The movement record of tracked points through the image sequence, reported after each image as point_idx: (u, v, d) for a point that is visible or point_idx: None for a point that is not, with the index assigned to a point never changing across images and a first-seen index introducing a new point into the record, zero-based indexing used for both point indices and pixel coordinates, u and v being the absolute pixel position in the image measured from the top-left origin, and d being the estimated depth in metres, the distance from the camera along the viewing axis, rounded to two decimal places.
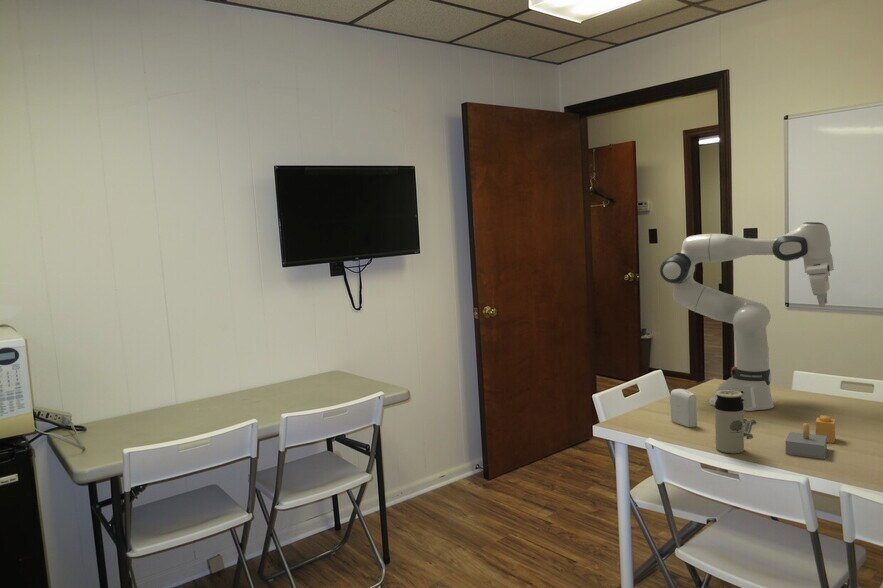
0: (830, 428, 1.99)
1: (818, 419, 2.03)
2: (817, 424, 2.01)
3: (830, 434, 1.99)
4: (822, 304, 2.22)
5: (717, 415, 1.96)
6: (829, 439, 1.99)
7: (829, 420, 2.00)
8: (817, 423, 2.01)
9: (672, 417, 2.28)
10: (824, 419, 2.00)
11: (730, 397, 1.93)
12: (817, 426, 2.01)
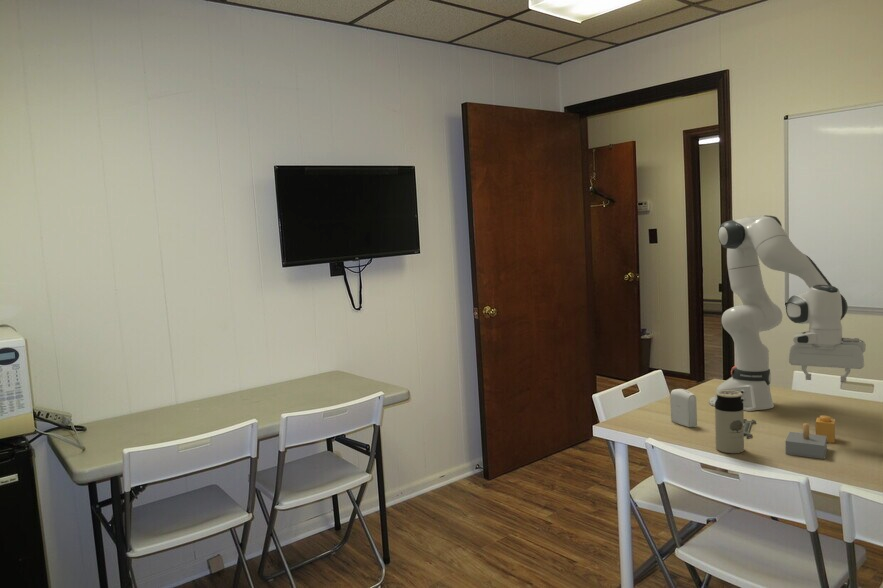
0: (830, 428, 1.99)
1: (818, 419, 2.03)
2: (817, 424, 2.01)
3: (830, 434, 1.99)
4: None
5: (717, 415, 1.96)
6: (829, 439, 1.99)
7: (829, 420, 2.00)
8: (817, 423, 2.01)
9: (672, 417, 2.28)
10: (824, 419, 2.00)
11: (730, 397, 1.93)
12: (817, 426, 2.01)
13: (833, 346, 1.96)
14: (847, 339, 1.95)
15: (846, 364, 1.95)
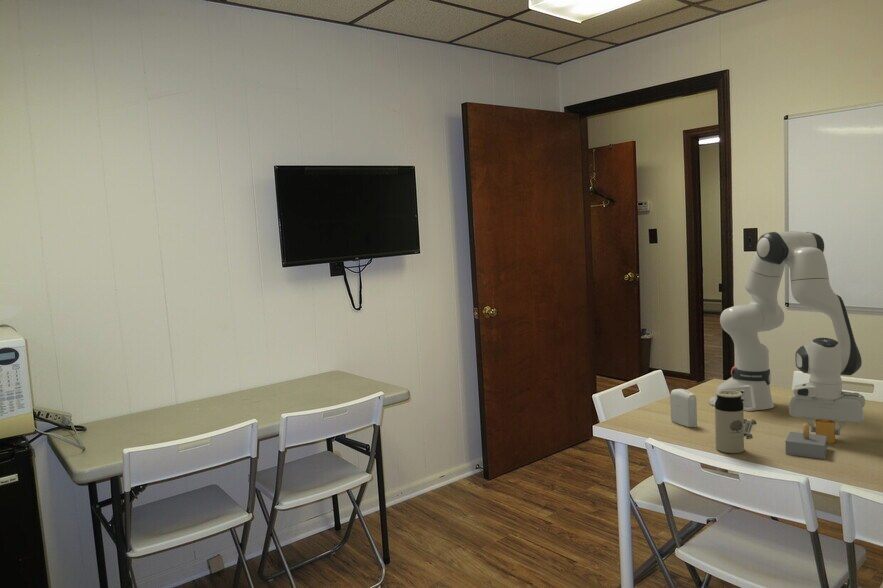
0: (830, 428, 1.99)
1: (818, 419, 2.03)
2: (817, 424, 2.01)
3: (830, 434, 1.99)
4: (811, 428, 2.04)
5: (717, 415, 1.96)
6: (829, 439, 1.99)
7: (829, 420, 2.00)
8: (817, 423, 2.01)
9: (672, 417, 2.28)
10: None
11: (730, 397, 1.93)
12: (817, 426, 2.01)
13: (833, 400, 1.98)
14: (847, 393, 1.97)
15: (846, 418, 1.97)
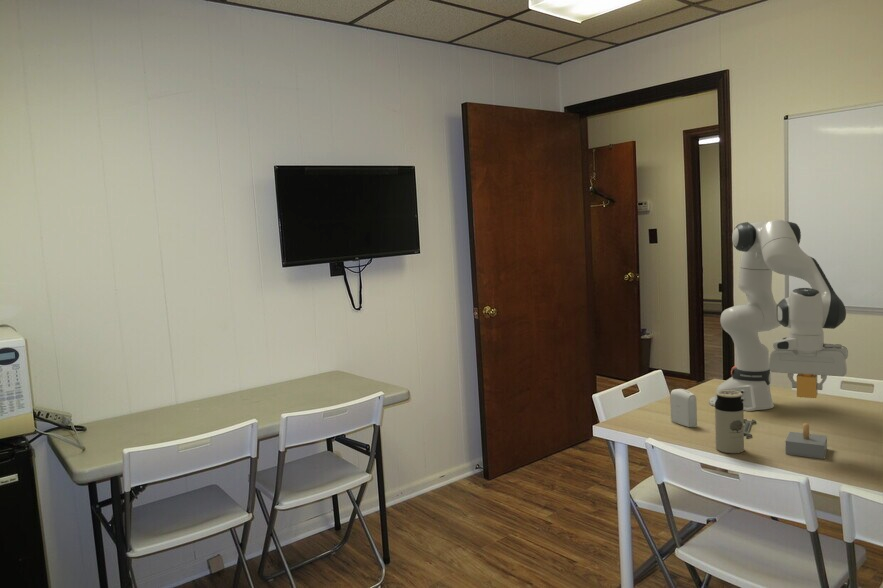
0: (812, 382, 1.88)
1: (799, 374, 1.92)
2: (798, 379, 1.90)
3: (812, 389, 1.88)
4: (792, 384, 1.93)
5: (717, 415, 1.96)
6: (811, 394, 1.88)
7: None
8: (798, 378, 1.90)
9: (672, 417, 2.28)
10: None
11: (730, 397, 1.93)
12: (798, 381, 1.90)
13: (814, 352, 1.87)
14: (829, 345, 1.86)
15: (828, 371, 1.86)
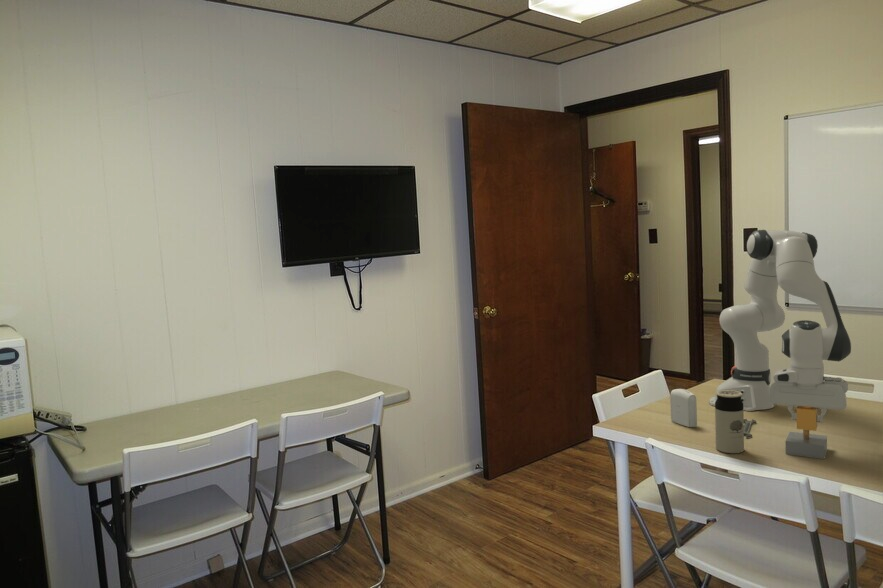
0: (812, 415, 1.89)
1: (799, 406, 1.93)
2: (798, 411, 1.91)
3: (812, 421, 1.89)
4: (792, 416, 1.94)
5: (717, 415, 1.96)
6: (811, 427, 1.89)
7: (811, 407, 1.90)
8: (798, 410, 1.91)
9: (672, 417, 2.28)
10: (805, 406, 1.90)
11: (730, 397, 1.93)
12: (798, 413, 1.91)
13: (814, 385, 1.88)
14: (829, 378, 1.87)
15: (828, 404, 1.87)
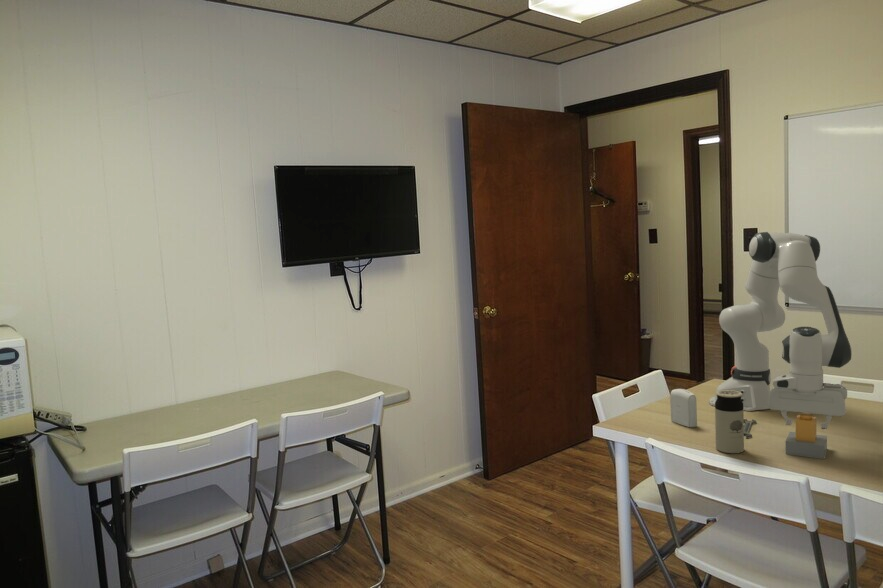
0: (811, 426, 1.89)
1: (798, 417, 1.93)
2: (797, 422, 1.91)
3: (811, 432, 1.89)
4: None
5: (717, 415, 1.96)
6: (810, 438, 1.90)
7: (810, 418, 1.90)
8: (797, 421, 1.91)
9: (672, 417, 2.28)
10: (804, 417, 1.91)
11: (730, 397, 1.93)
12: (797, 424, 1.91)
13: (814, 392, 1.88)
14: (828, 385, 1.87)
15: (827, 411, 1.87)
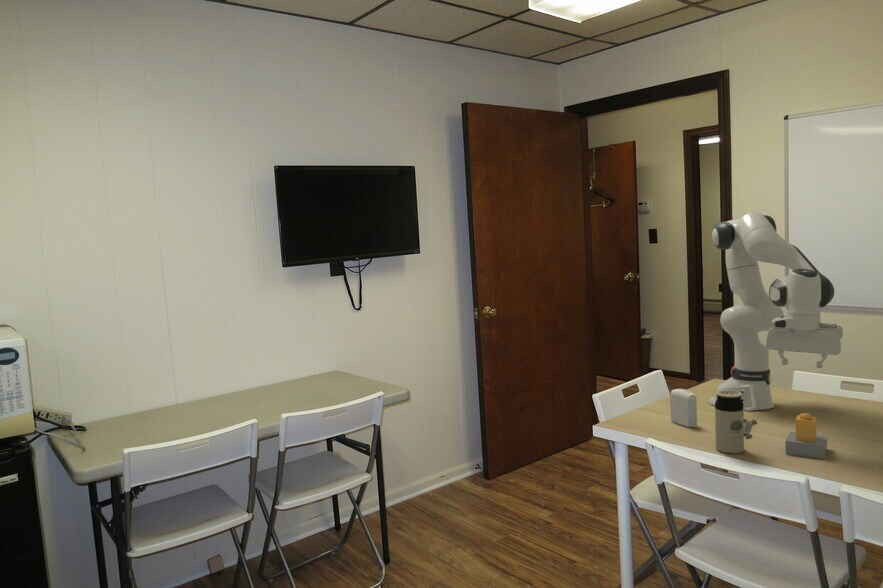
0: (811, 426, 1.89)
1: (798, 417, 1.93)
2: (797, 422, 1.91)
3: (811, 432, 1.89)
4: (782, 361, 2.01)
5: (717, 415, 1.96)
6: (810, 438, 1.90)
7: (810, 418, 1.90)
8: (797, 421, 1.91)
9: (672, 417, 2.28)
10: (804, 417, 1.91)
11: (730, 397, 1.93)
12: (797, 424, 1.91)
13: (810, 331, 1.94)
14: (825, 324, 1.93)
15: (823, 350, 1.93)
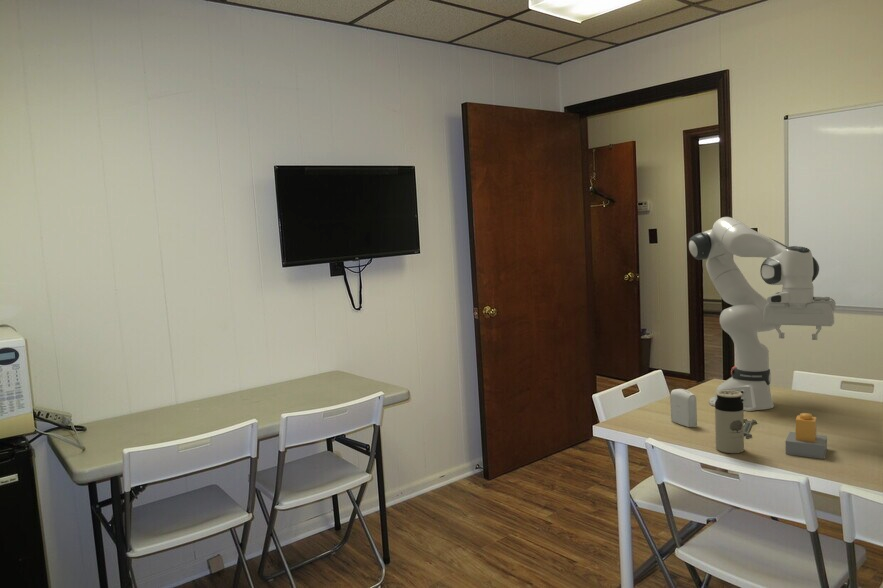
0: (811, 426, 1.89)
1: (798, 417, 1.93)
2: (797, 422, 1.91)
3: (811, 432, 1.89)
4: (779, 335, 2.11)
5: (717, 415, 1.96)
6: (810, 438, 1.90)
7: (810, 418, 1.90)
8: (797, 421, 1.91)
9: (672, 417, 2.28)
10: (804, 417, 1.91)
11: (730, 397, 1.93)
12: (797, 424, 1.91)
13: (805, 305, 2.04)
14: (818, 298, 2.03)
15: (817, 322, 2.03)
